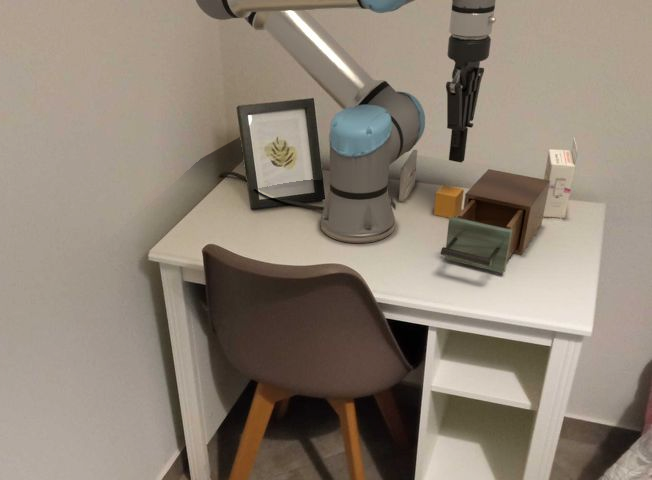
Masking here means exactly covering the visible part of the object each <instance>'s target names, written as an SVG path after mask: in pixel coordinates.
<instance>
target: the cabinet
mask: <svg viewBox="0 0 652 480" xmlns="http://www.w3.org/2000/svg"><path fill="white" fill-rule="evenodd" d="M549 184H550V181H549V180H544V178H538V177H533V176H528V175H521V174H518V173H511V172H506V171H502V170H501V171H500V170H495V169H489V168H488V169H487V170H486V171H485V172H484V173H483V174H482V175H481V176H480V178H478V180H477V181H476V182H475V183H474V184H473V185H472V186H471V187H470V188H469V189H468V190H467V191H466V192H465V194H464V203H463V209H464V208H465V207H466V206H467V204H468V203H469V202H470V201H471V200H472V199H476V200H480V201H485V202H490V203H495V204H500V205H504V206H509V207H514V208H519V209H524V210H526V212H525V218H524V223H523V228H522V234H521V239H520V243H519V244H518V246H517V247H516V249H515V250H514V252H513V253H512V254H515V255H519V256H523V254H524V252H526V249H527V248H528V247H529V245H530V244H531V242H532V241H533V240H534V238H535V237H536V235H537V234H538V232H539V231H540V229H541V228H542V223H543V219H544V217H543V214H544V209H545V204H546V200H547V195H548V190H549Z"/></svg>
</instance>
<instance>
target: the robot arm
mask: <svg viewBox="0 0 652 480" xmlns="http://www.w3.org/2000/svg"><path fill="white" fill-rule="evenodd" d="M414 1H415V0H195V2H196V4H197V6H198V7H199V9H200V10H201V11H202V12H203V13H204V14H206V15H207V16H208V17H210V18H212V19H215V20H220V21H226V20H231V19H244V20H245V21H246V22H247V23H248V24H249V25H250V26H251V27H252V28H253V30H255V31H266V32H267V33H268V34H269V35H270V36H271V37H272V38H273V39H274V40H275V41H276V42H277V43H278V45H280V46H281V48H283V49H284V51H285V52H287V54H288V55H289V56H290V57H291V58H292V59H293V60H294V61H295V62H296V63H297V64H298V65H299V66H300V67H301V68H302V69H303V70H304V71H305V72H306V73H307V74H308V76H310V77H311V79H312V80H313V81H315V83H316V84H317V85H318V86H319V87H320V88H321V89H322V90H323V91H324V92H325V93H326V94H327V95H328V96H329V97H330V99H332V100H333V101H334V102H335V104H336V105H338V107H339V108H340V109H341V110H340V111H338V112H337V113H336V114H335V115H334V116H333V118H332V119H331V122H330V130H329V135H328V142H329V193H328V196H327V199H326V201H325V205H324V206H321V205H320V206H319V205H313V204H308V203H303V202H299V201H293V200H289V199H286V200H280V201H279V202H280V203H284V204H287V205H291V206H296V207H301V208H306V209H310V210H311V209H312V210H315V211H316V210H317V211H322V213H321V216H320V228H321V231H322V232H323V234H325V235H326V236H327V237H329V238H331V239H333V240H335V241H336V240H337V241H340V242H344V243H351V244H352V243H353V244H366V243H372V242H377V241H381V240H383V239H385V238H387V237H388V236H390V235H391V234H392V233H393V232H394V230H395V223H396V218H395V213H394V211H396V208H397V204H396V202H395V201H394V200H393V198H390V196H389V192H388V189H389V173H390V172H389V171H390V165H392V164H393V163H394V162H396V161H397V160H398V159H399V158H401V157H402V156H403V155H405V154H406V153H408V152H410V151H411V150H413V148H414V147H415V146H416V144H418V142H419V141H420V140H421V139H422V137H423V134H424V132H425V128H426V115H425V110H424V108H423V106H422V104H421V102H420V101H419V100H418V98H417V97H416V96H414V95H413V94H411V93H410V92H406V91H398V90H397V91H396V90H395V89H394V88H393V87H392V86H391V85H390V84H389V83H388V81H386V80H385V79H374V78H373V77H372V76H371V75H370V74H369V73H368V71H366V70H365V69H364V68H363V67H362V66H361V65H360V64H359V63H358V62H357V60H356V59H355V58H354V57H353V56H352V55H351V54H350V53H349V52H348V51H347V50H346V49H345V48H344V47H343V46H342V45H341V44H340V43H339V42H338V41H337V40H336V39H335V37H333V36H332V35H331V34H330V32H328V31H327V30H326V28H325V27H324V26H323V25H322V24H321V23H320V22H319V21H318V20H317V19H316V18H315V17H314V16H313V15H312V14H311V13H310V12H309V11H332V10H370V11H372V12H374V13H377V14H384V13H390V12H394V11H397V10H398V9H400V8H402V7H404V6H405V5H408V4H410V3H412V2H414ZM495 9H496V0H451V10H450V11H451V12H450V21H449V30H448V32H449V33H450V34H451V35H450V36H449V37H448V43H447V45H448V46H447V57H448V58H449V59H450V60H451V61H453V62H454V66H453V70H452V74H451V79H452V80H451V81H447V82H446V84H445V89H446V94H447V95H446V102H447V103H446V110H447V113H446V117H447V118H446V122H447V123H446V128H447V129H448V130H451V133H450V134H451V135H450V142H449V143H450V144H449V154H448V161H451V162H456V163H463V162H464V161H465V157H466V149H467V148H466V147H467V141H468V140H467V139H468V132H469V131H468V130H469V128H470V129H471V128H473V127H474V123H473V121H474V120H475V119H474V118H475V113H476V108H477V102H478V99H479V93H480V87H481V82H482V78H483V77H484V73H485V67H480V65H481V64H480V63H481V62H483V61H486V60H487V59H488V58H489V56H490V50H491V44H492V43H491V42H492V38H491V36H490V35H491V34H492V30H493V24H495V23H496V20H497V19H496V17H495V16H494V15H495ZM226 175H228V176H229V175H230V176H233V177H237V178H239V179H241V180H243V181H246V177H247V176H245V175H243V174H241V173H238V172H235V171H232V170H231V171H230V170H226V171H222V172H220V173H219V174H218V178H222V177H224V176H226ZM393 209H394V211H393Z"/></svg>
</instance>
